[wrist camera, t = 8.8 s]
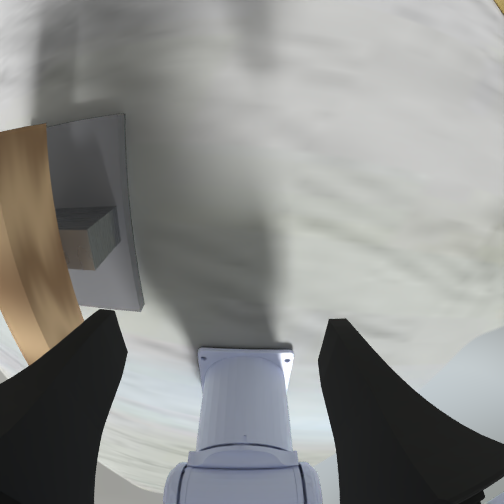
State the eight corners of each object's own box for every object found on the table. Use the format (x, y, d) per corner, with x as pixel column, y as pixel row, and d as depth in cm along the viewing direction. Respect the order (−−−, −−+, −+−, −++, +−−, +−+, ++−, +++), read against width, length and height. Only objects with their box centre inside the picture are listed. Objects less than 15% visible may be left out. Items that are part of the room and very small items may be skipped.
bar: (92, 342, 17) (69, 385, 13) (59, 336, 17) (34, 375, 13) (46, 123, 11) (-8, 133, 7) (10, 133, 11) (-40, 147, 7)
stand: (144, 304, 21) (123, 348, 17) (63, 296, 21) (35, 331, 17) (124, 113, 15) (84, 116, 11) (33, 131, 15) (-13, 142, 11)
